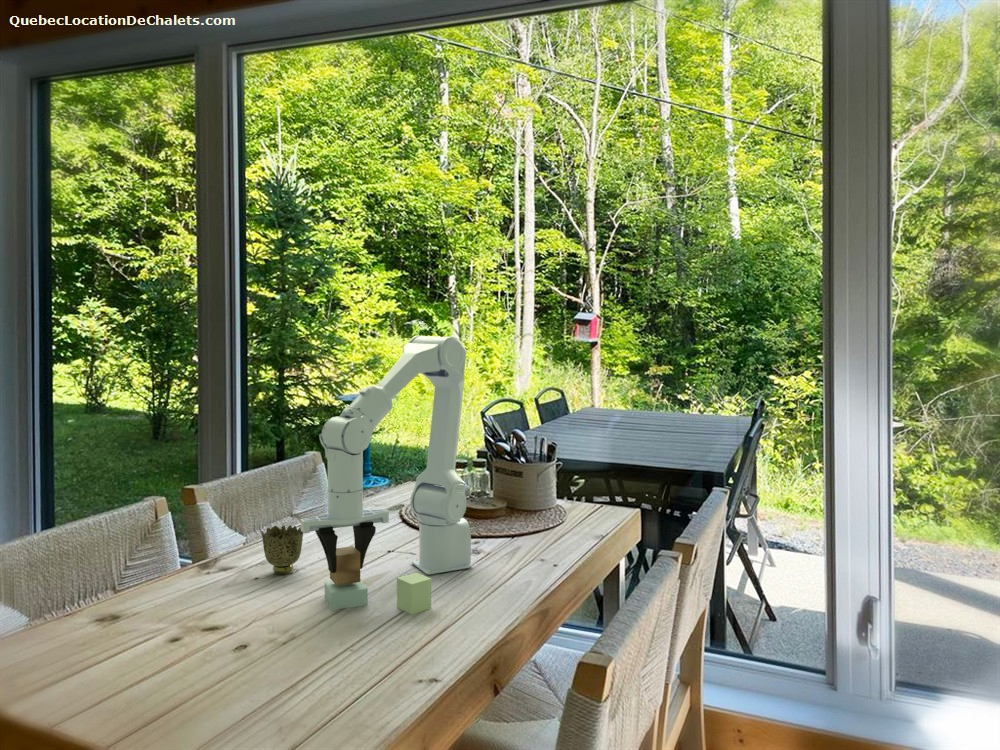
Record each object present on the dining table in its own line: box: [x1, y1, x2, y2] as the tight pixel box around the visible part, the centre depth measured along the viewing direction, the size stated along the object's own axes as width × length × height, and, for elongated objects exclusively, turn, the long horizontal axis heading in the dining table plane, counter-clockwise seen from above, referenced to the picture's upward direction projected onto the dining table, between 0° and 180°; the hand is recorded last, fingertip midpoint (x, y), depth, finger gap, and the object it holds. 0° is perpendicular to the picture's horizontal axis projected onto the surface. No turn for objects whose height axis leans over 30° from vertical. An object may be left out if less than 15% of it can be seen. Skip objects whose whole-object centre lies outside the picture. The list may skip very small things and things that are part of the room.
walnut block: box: [329, 545, 361, 586], centre depth 128 cm, size 4×4×5 cm
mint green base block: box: [324, 578, 369, 611], centre depth 128 cm, size 6×6×3 cm
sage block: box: [396, 572, 432, 615], centre depth 125 cm, size 4×4×5 cm
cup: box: [261, 524, 304, 575], centre depth 141 cm, size 8×7×8 cm
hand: (345, 569), depth 128 cm, fingers closed on walnut block, 4 cm apart
